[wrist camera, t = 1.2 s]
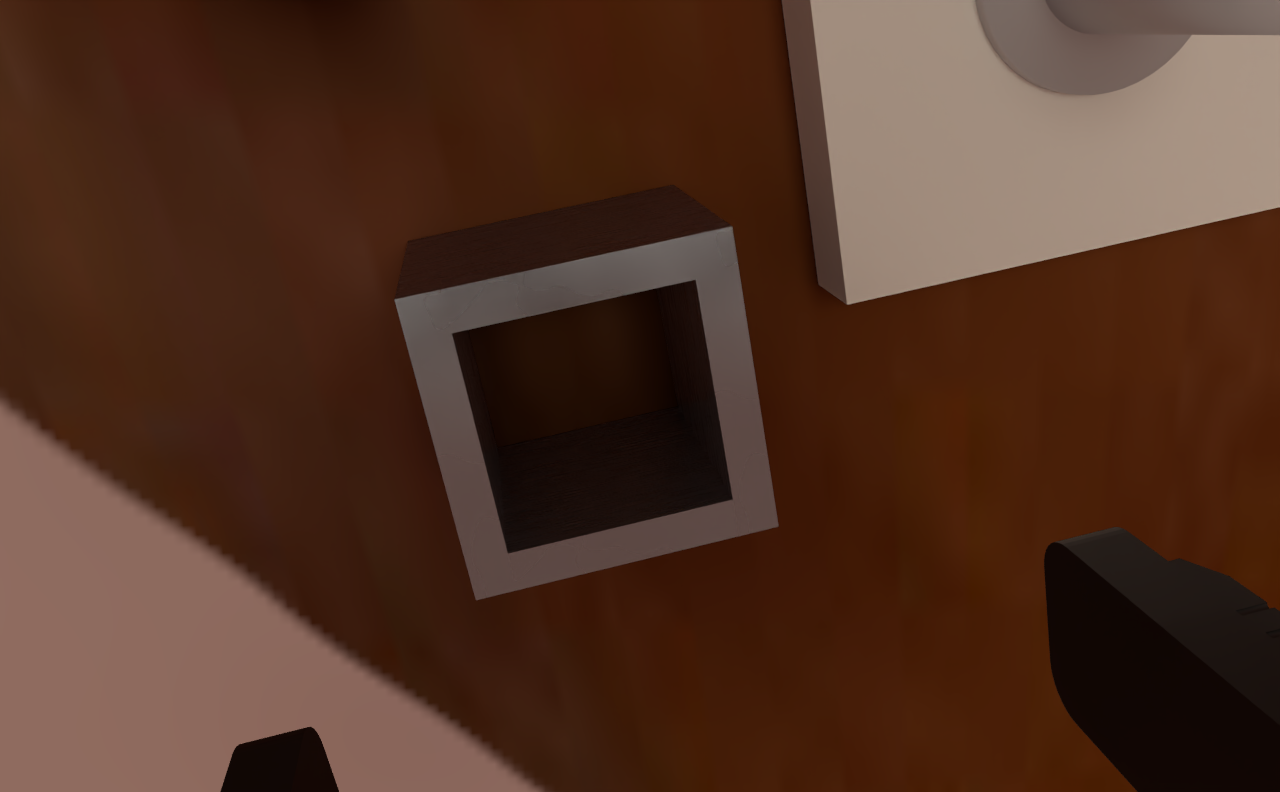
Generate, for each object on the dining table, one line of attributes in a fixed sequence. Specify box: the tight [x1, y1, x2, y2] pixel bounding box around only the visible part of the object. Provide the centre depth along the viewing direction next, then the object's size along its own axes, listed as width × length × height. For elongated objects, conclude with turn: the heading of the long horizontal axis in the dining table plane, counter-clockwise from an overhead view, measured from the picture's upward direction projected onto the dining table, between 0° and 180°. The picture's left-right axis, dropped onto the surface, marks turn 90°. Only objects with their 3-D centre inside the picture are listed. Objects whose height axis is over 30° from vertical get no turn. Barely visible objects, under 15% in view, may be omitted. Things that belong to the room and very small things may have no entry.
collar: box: [394, 185, 779, 600], centre depth 22 cm, size 6×6×6 cm
